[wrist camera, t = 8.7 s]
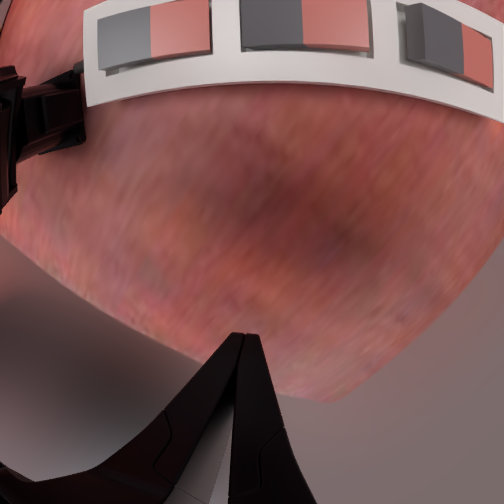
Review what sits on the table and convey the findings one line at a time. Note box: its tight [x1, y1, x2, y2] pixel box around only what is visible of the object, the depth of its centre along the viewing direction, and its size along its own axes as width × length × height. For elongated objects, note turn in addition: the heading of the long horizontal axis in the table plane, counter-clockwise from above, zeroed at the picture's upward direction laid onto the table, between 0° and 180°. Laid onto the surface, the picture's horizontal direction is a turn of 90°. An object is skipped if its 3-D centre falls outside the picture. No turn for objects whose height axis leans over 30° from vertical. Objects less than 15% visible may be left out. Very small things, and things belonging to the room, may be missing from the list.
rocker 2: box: [241, 0, 369, 52], centre depth 10 cm, size 6×3×1 cm, turn 92°
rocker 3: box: [404, 3, 493, 89], centre depth 9 cm, size 6×3×1 cm, turn 92°
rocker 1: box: [97, 0, 211, 71], centre depth 11 cm, size 6×3×1 cm, turn 92°
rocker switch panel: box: [73, 0, 504, 123], centre depth 12 cm, size 29×7×4 cm, turn 92°
